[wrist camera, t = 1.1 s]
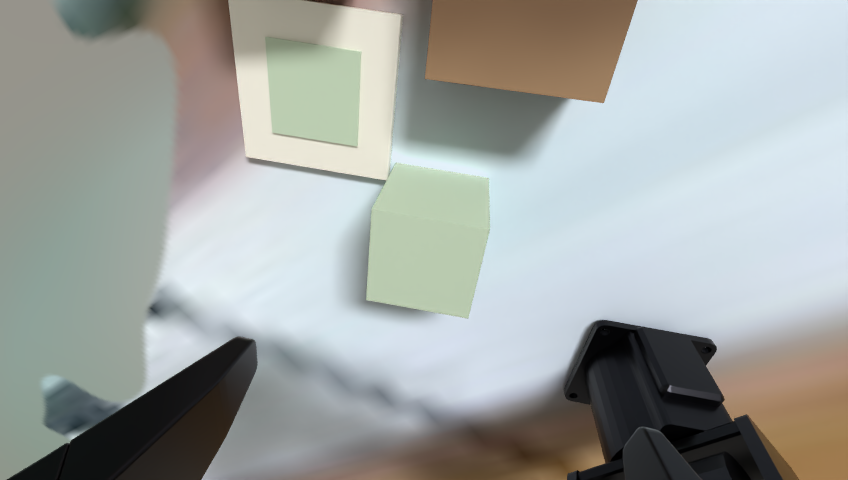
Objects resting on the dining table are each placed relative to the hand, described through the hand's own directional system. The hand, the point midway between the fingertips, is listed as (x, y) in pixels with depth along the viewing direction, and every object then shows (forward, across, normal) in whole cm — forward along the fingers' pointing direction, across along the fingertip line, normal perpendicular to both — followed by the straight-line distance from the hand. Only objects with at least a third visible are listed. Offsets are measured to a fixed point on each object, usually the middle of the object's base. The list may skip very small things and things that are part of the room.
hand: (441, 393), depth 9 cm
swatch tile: (+12, +7, -3) cm, 14 cm away
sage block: (+12, +1, +2) cm, 12 cm away
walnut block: (+12, 0, -8) cm, 15 cm away
